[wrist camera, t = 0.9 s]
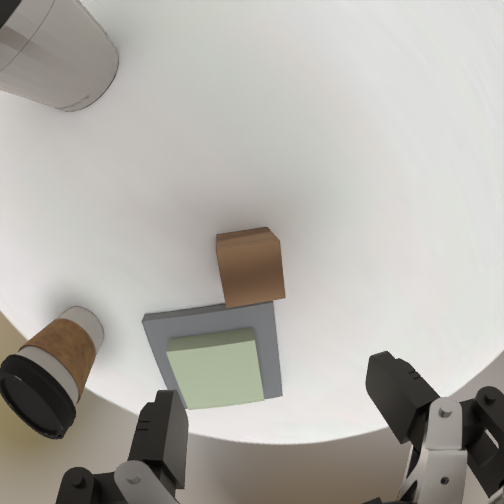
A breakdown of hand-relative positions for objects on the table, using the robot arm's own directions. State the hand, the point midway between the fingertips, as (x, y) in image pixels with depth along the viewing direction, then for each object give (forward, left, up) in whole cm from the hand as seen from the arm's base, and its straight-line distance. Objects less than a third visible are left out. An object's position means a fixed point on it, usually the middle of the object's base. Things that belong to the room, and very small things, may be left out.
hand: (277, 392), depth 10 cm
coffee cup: (+6, -21, -19) cm, 28 cm away
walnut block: (0, 0, -19) cm, 19 cm away
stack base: (+12, -5, -19) cm, 22 cm away
